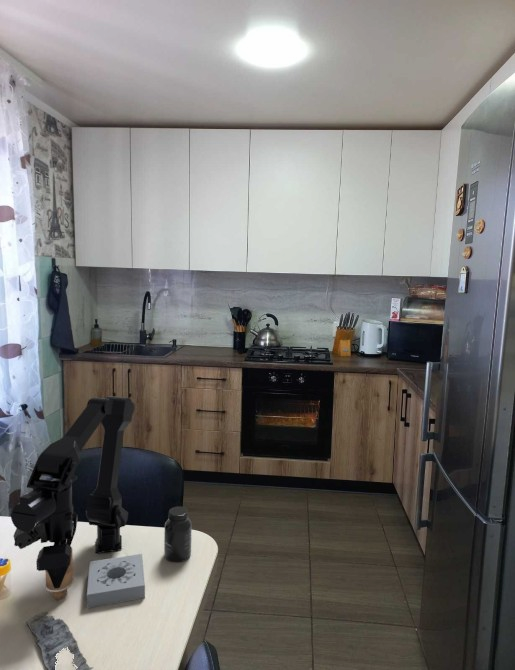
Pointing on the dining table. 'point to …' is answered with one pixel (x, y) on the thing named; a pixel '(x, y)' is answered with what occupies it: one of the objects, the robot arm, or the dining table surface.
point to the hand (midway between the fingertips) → (59, 574)
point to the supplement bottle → (177, 535)
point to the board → (115, 580)
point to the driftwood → (55, 640)
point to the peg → (66, 583)
